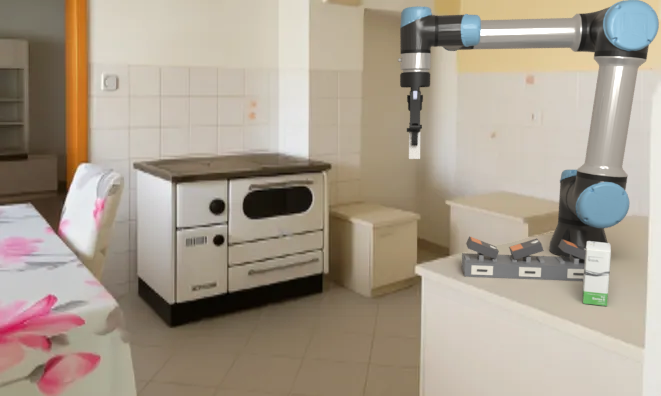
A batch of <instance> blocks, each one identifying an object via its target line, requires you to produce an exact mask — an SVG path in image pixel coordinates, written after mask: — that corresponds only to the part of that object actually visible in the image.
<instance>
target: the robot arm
mask: <svg viewBox="0 0 661 396" xmlns="http://www.w3.org/2000/svg"><path fill="white" fill-rule="evenodd" d="M400 14H401V15H400V27H399V29H400V33H399V34H400V38H399V39H400V41H399V42H400V43H399V45H400V57H399V58H398V59H397V62H399V63H400V67H399V68H400V70H401V71H402V72H401V73H400V74H399V84H400V85H399V87H401V88H404V89H405V88H410V91H409V94H407V95H406V96H407V97H406V102H407V110H408V111H409V126H408V127H406V132H407V133H408V159H409V160H420V159H421V129H423V127H422V126H423V125H422V124H421V111H422V110H423V102H424V94H422V92H421V89H420V88H430V86H431V72H430V70H431V68H432V66H431V65H432V64H431V63H432V54H431V53H432V51H431V49H432V47H434V48H437V47H439V48H440V47H442V48H443V49H444V50H446V51H449V52H456V51H457V52H458V51H465V50H466V51H468V50H503V49H504V50H509V49H510V50H513V49H515V50H516V49H517V50H518V49H519V50H520V49H521V50H522V49H524V50H525V49H568V48H569V49H570V50H572V52H574V53H577V52H578V53H580V52H585V53H593V60H594V61H595V62H596V63H597V65H598V73H597V78H596V86H595V92H594V99H593V106H592V111H591V118H590V124H589V125H590V126H589V132H588V140H587V146H586V151H585V159H584V163H583V164H582V165H580V166H579V167H578V168H577V169H565V170H562V172H561V175H560V179H559V200H558V216H557V217H558V218H557V225H556V227H555V230H554V232H553V235H552V236H551V239H550V242H549V251H550V252H551V253H552V254H554V255H557V256H559V257H570V254H568V253H566V252H563V251H562V250H561V249H560V248H559V247H558V246H559V244H560V242H561V239H563V240H566V241H568V242H571V243H573V244H576V245H578V246H581V247H584V248H586V244H587V241H594V242H603V243H609V242H608V240H607V239H608V238H607V235H606V232H605V229H608V228H611V227H615V226H616V225H618V224H619V223H621V222H622V221H623V220H624V219H625V218H626V216H627V214H628V213H629V209H630V197H629V195H628V192H627V191H626V189H627V183H628V176H629V175H628V173H627V172H626V171H625V170H624V168H623V164H624V159H625V158H624V157H625V153H626V145H627V139H628V133H629V126H630V120H631V114H632V113H631V112H632V106H633V101H634V95H635V94H634V93H635V90H636V89H635V88H636V81H637V76H638V70H639V68H640V67H641V66H643V64H645V63H646V62H647V59H648V52H649V45H650V44H652V42H653V41H654V40H655V38H656V37H657V34H658V32H659V25H660V22H659V17H658V15H657V12H656V11H655V9H654V8H653V7H652V6H651V5H650V4H649V3H647V2H645V1H643V0H619V1H617V2H615V3H614V4H612V5H611V6H608V7H605V8H604V9H601V10H600V9H599V10H597V11H592V12H587V13H586V12H585V13H576V14H574V16H573V17H562V18H561V17H556V18H555V17H553V18H552V17H551V18H519V19H518V18H517V19H516V18H515V19H513V18H512V19H488V20H487V19H486V20H484V19H481V17H480V15H478V14H468V13H464V14H450V15H449V14H448V15H447V14H445V15H435V14H433V13H432V9H431V8H430V7H429V6H418V5H417V6H409V7H408V6H407V7H405V8H403V9H402V11H401V13H400Z"/></svg>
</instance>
